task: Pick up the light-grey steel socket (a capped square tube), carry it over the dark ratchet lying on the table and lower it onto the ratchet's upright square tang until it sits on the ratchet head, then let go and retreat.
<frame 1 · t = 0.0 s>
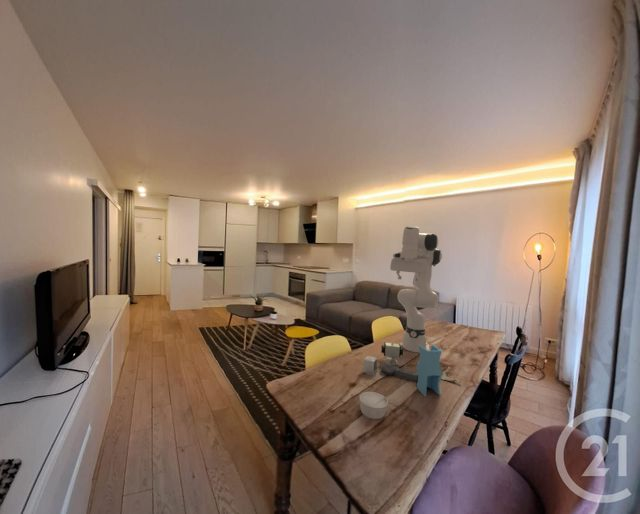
hand: (408, 280, 149), 48 cm above the table, fingers open, 8 cm apart
pneumatic valve: (391, 363, 152), on the table
ramekin: (372, 412, 105), on the table
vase: (427, 391, 124), on the table
jawbone: (453, 377, 140), on the table
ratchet: (388, 372, 140), on the table
socket: (369, 372, 139), on the table
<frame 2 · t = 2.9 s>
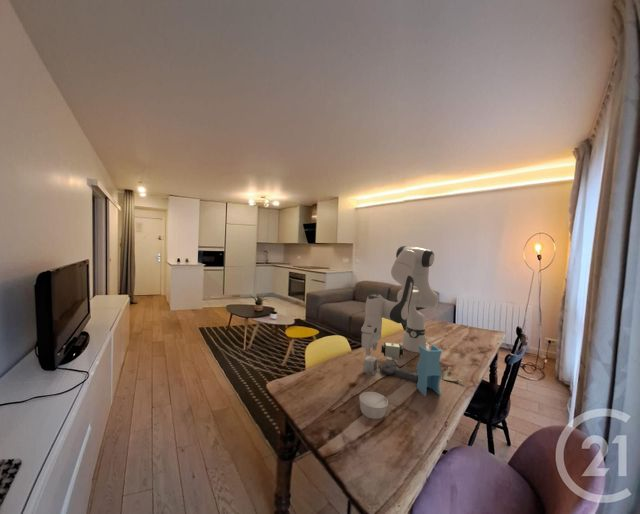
hand: (371, 352, 138), 11 cm above the table, fingers open, 8 cm apart
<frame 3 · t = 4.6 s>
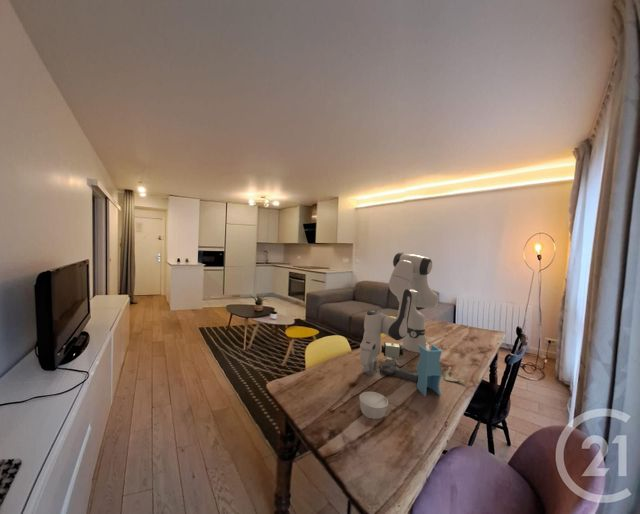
hand: (370, 367, 139), 2 cm above the table, fingers closed on socket, 5 cm apart
socket: (369, 372, 139), on the table, touching gripper
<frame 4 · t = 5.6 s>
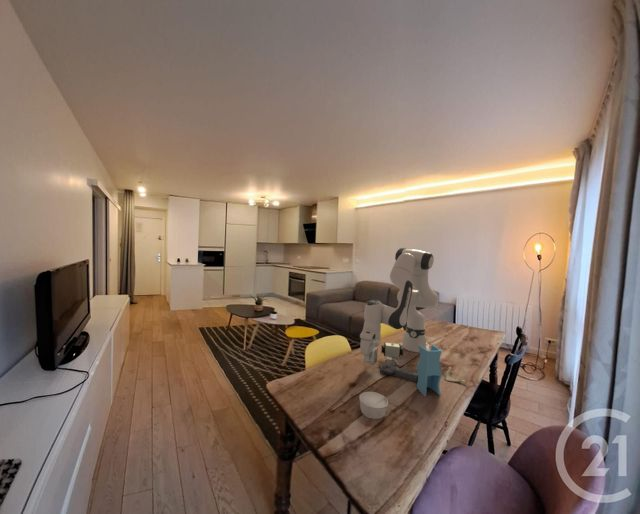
hand: (370, 357, 140), 7 cm above the table, fingers closed on socket, 5 cm apart
socket: (370, 361, 140), point 5 cm above the table, touching gripper
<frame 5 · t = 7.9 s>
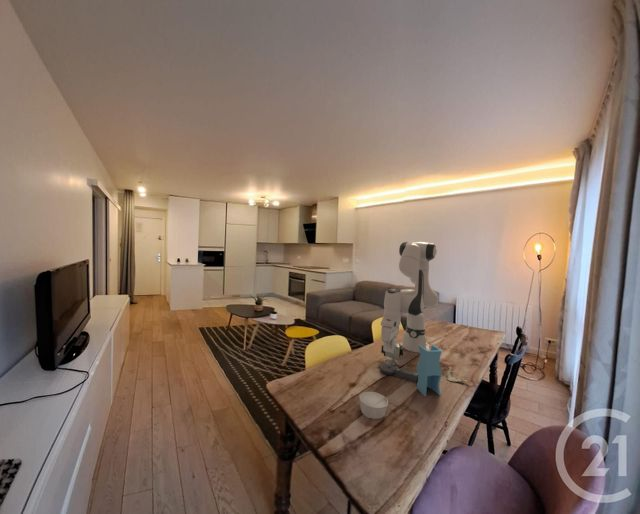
hand: (390, 346, 140), 14 cm above the table, fingers closed on socket, 5 cm apart
socket: (389, 350, 140), point 12 cm above the table, touching gripper
when the fingers open (7 cm above the table, at t = 10.0 s): socket drops 1 cm, resting on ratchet.
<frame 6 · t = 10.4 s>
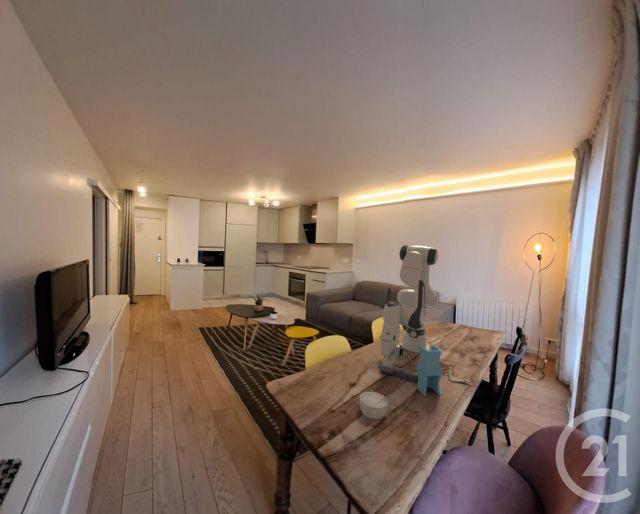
hand: (389, 358, 140), 7 cm above the table, fingers open, 8 cm apart
socket: (389, 365, 140), point 3 cm above the table, touching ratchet
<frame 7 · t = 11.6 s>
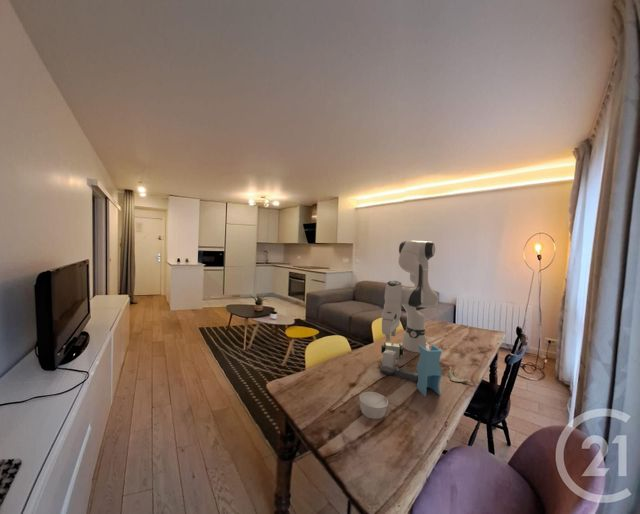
hand: (390, 338, 140), 18 cm above the table, fingers open, 8 cm apart
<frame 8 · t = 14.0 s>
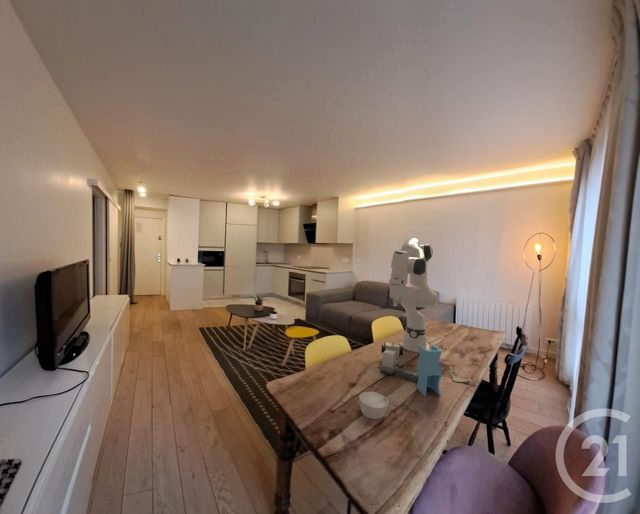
hand: (397, 304, 148), 34 cm above the table, fingers open, 8 cm apart
at the end: socket 0.1 cm off-centre on the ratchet, point 3.5 cm above the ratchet's base; socket tilted 0°; the gripper is holding nothing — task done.
